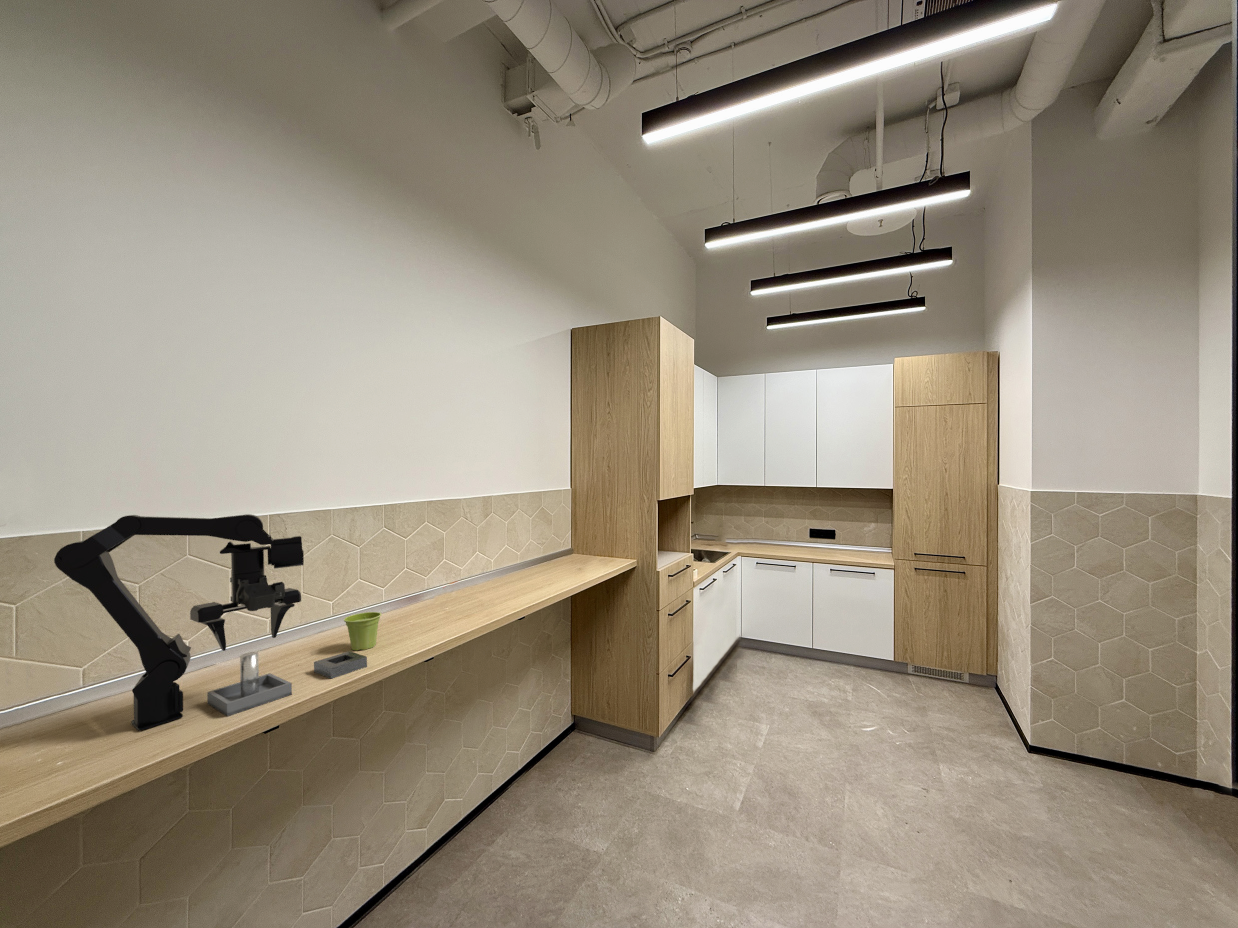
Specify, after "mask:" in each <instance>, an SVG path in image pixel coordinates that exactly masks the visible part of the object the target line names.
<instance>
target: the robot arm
mask: <svg viewBox="0 0 1238 928" xmlns="http://www.w3.org/2000/svg"><path fill="white" fill-rule="evenodd" d="M134 536H186V537H187V536H188V537H189V536H195V537H196V536H197V537H198V536H199V537H200V536H201V537H207V536H208V537H212V538H218V539H223V540H229V541H228V542H227V544H226V545H225V546H224V547H223V548H222V549H221V550H220V551H219V554H221V555H225V554H230V556H231V557H230V559H231V560H230V562H231V577H229V582H230V583H231V596H230V602H229V603H224V604H222V603H219V602H215V601H213V602H206V603H202V604H197V605H193V607H192V608H191V609H190V610H189V611H190V613H189V615H190V616H189V617H190V619H189V620H190V621H193V622H196V623H200V624H203V625H206V626H207V627H208V629H209V630H210V631H211V632H212V634H213V636H214V638H215V640H216V642H217V644H218V645H219V647H220V649H221V651H223V652H224V651H226V650H227V641H226V633H225V622H226V619H225V618H222V616H224V614H226V613H228V614H229V613H232V612H236V611H241V610H242V611H243V610H247V611H248V612H257V611H258V610H262V609H266V608H267V609H270V633H271V638H272V639H275V638H276V637H277V635H278V632H279V630H280V628H281V625H282V622H283V619H284V617H285V615H286V614H287V612H288V611H289V610H290V609H291V608H293V607H295V606H296V604H298V603H301V602H302V593H301V591H300V590H299V589H297V588H291V587H287V588H285V587H286V586H285V582H283V581H277V582H273V583H271V584H269V583H268V578H267V575H266V574H265V551H266V550H267V565H268V566H270V565H271V566H273V569H274V570H275V569H284V568H291V567H299V566H301V567H302V566H304V560H305V559H304V558H305V557H304V549H303V541H302V539H303V538H302V536H301V535H295V536H291V537H283V538H272V535H271V534H269V533H267V531H266V530H265V529H264V523H263V521H262V519H261V518H260V517H259V516H257V515H255V514H249V513H247V514H239V515H238V514H237V515H229V516H221V517H213V518H212V517H179V516H178V517H175V516H174V517H173V516H141V515H138V514H130V515H124V516H121V517H120V518H118V519H117V520H116V521H115V522H113V523H112V524H110V525H108V526H107V527H105V528H103V529H102V530H100V531H98V532H96V533H94V534H93V535H91V536H89V537H88V538H86V539H85V540H84V539H83V540H80V541H75V542H72V543H68V544H67V545H64V546H62V547H61V548H60V549H59V550H58V551H57V552H56V554H55V556H54V558H53V561H54V566H55V567H56V568H57V569H58V570H59V571H60V572H62V574H64V575H65V576H67V577H68V578H69V579H70V580H72V581H73V582H75V583H77V584H78V585H80V586H82V587H84V588H85V589H88V590H89V591H90V592H91V593H92V594H93V596H94V597H95V598H96V599H97V601H98V602H99V604H101V606H102V607H103V608H104V609H105V611H107V613H108V614H109V615H110V617H111V618H112V619H113V620H114V622H115V623H116V624H117V625H118V626H119V627H120V628H121V630H122V631H123V632H124V634H125V635H126V636H127V637H128V639H129V640H130V641H131V642H132V643H133V644H134V646H135V647H136V649H137V651H138V654H139V658H140V661H141V664H142V666H143V667H142V668H144V672H145V673H143V675H141V677H140V678H139V679H138V681H137V682H136V684H135V686H134V687H133V688H132V689H131V690H132V691H131V692H132V694H133V719H132V720H131V721H130V724H131V725H132V726H133V727H134V728H135V729H136V730H137V731H138V732H139V731H144V730H147V729H150V728H153V727H157V726H160V725H163V724H166V723H168V722H173V721H175V720H178V719H181V718H183V712H184V691H183V690H182V689H181V688H180V684H178V683H177V682H176V681H178V680H179V679H180V678H181V677H183V675H185V673H186V671H187V668H188V666H189V664H190V661H191V659H192V658H191V653H190V651H191V649H192V647H191V646H189V645H187V643H185V642H184V640H183V637H182V636H181V634H180V633H177V634H176V635H175V636H173V637H171V636H168V635H167V634H165V633H164V632H163V631H161V629H160V628H159V626H157V624H156V623H155V622H154V621H153V619H152V618H151V617H150V615H149V614H148V613H147V611H145V609H144V608H143V607H142V605H141V604H140V603H139V601H138V600H137V599H136V598H135V597H134V595H133V594H132V593H131V592H130V590H129V589H128V588H127V586H126V585H125V584H124V583H123V581H122V580H121V579H120V578H119V576H118V572H117V570H116V567H115V562H114V560H113V559H112V555H111V553H110V552H112V551H114V550H116V549H117V548H118V547H120V546H121V545H123V544H124V543H125V542H127V541H128V540H129V539H131V538H133V537H134ZM232 541H235V542H236V541H238V542H242V543H239V544H235V543H233V542H232ZM246 542H255V544H259V545H261V546H252V544H251V543H246ZM266 545H267V546H266Z"/></svg>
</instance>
